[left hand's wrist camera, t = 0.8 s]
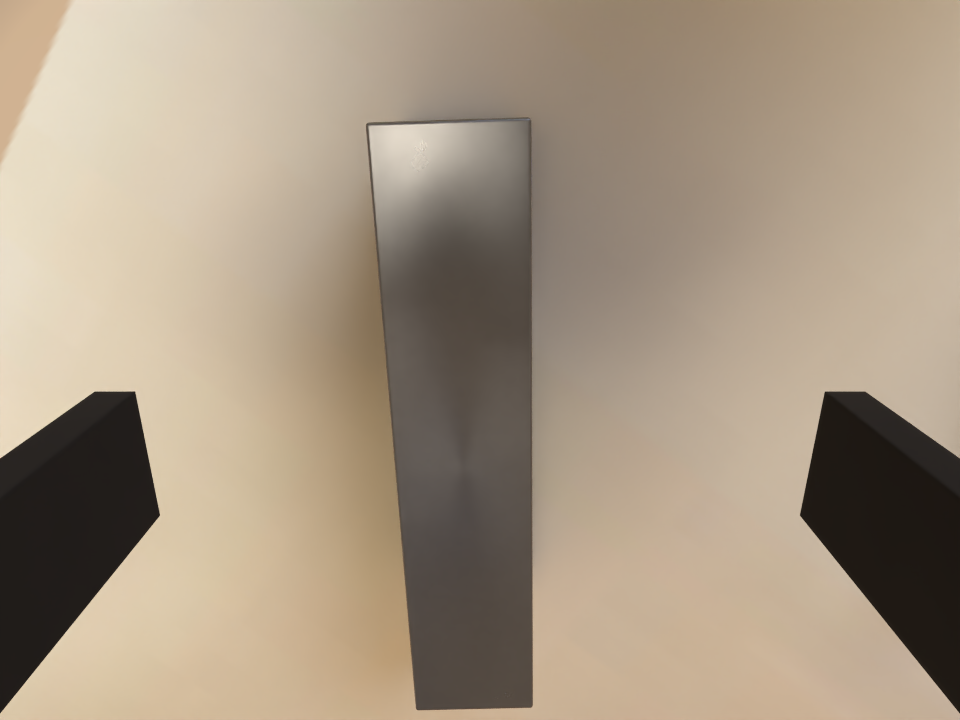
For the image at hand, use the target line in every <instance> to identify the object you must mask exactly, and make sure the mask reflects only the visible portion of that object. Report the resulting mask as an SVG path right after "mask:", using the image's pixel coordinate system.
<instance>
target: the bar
mask: <svg viewBox="0 0 960 720" xmlns="http://www.w3.org/2000/svg"><path fill="white" fill-rule="evenodd" d="M366 132H367V144H368V156H369V167H370V179H371V191H372V202H373V214H374V226H375V237H376V249H377V261H378V272H379V284H380V295H381V307H382V319H383V330H384V342H385V354H386V365H387V377H388V389H389V400H390V412H391V423H392V435H393V447H394V458H395V470H396V482H397V493H398V505H399V517H400V528H401V540H402V552H403V563H404V575H405V586H406V598H407V610H408V621H409V633H410V645H411V656H412V668H413V680H414V691H415V703H416V709H417V710H447V709H491V708H531V707H532V706H533V612H532V236H531V119H530V118H498V119H467V120H436V121H405V122H374V123H367V124H366Z"/></svg>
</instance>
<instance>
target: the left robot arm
mask: <svg viewBox="0 0 960 720" xmlns="http://www.w3.org/2000/svg"><path fill="white" fill-rule="evenodd" d="M159 516H160V513H159V508H158V503H157V498H156V493H155V488H154V483H153V478H152V473H151V468H150V463H149V458H148V454H147V449H146V444H145V439H144V434H143V429H142V424H141V419H140V414H139V409H138V404H137V399H136V394H135V392H94V393H92V394H91V395H89V396H88V397H87V398H85V399H84V400H82V401H81V402H80V403H78V404H77V405H75V406H74V407H72V408H71V409H70V410H68V411H67V412H65V413H64V414H63V415H61V416H60V417H58V418H57V419H56V420H54V421H53V422H51V423H50V424H48V425H47V426H46V427H44V428H43V429H41V430H40V431H39V432H37V433H36V434H34V435H33V436H31V437H30V438H29V439H27V440H26V441H24V442H23V443H22V444H20V445H19V446H17V447H16V448H15V449H13V450H12V451H10V452H9V453H7V454H6V455H5V456H3V457H2V458H0V713H1V712H2V710H3V709H4V708H5V707H6V705H7V704H8V703H9V702H10V701H11V699H12V698H13V697H14V696H15V694H16V693H17V692H18V691H19V689H20V688H21V687H22V686H23V684H24V683H25V682H26V681H27V679H28V678H29V677H30V676H31V675H32V673H33V672H34V671H35V670H36V668H37V667H38V666H39V665H40V663H41V662H42V661H43V660H44V658H45V657H46V656H47V655H48V653H49V652H50V651H51V650H52V649H53V647H54V646H55V645H56V644H57V642H58V641H59V640H60V639H61V637H62V636H63V635H64V634H65V632H66V631H67V630H68V629H69V627H70V626H71V625H72V624H73V623H74V621H75V620H76V619H77V618H78V616H79V615H80V614H81V613H82V611H83V610H84V609H85V608H86V606H87V605H88V604H89V603H90V601H91V600H92V599H93V598H94V597H95V595H96V594H97V593H98V592H99V590H100V589H101V588H102V587H103V585H104V584H105V583H106V582H107V580H108V579H109V578H110V577H111V575H112V574H113V573H114V572H115V571H116V569H117V568H118V567H119V566H120V564H121V563H122V562H123V561H124V559H125V558H126V557H127V556H128V554H129V553H130V552H131V551H132V549H133V548H134V547H135V546H136V545H137V543H138V542H139V541H140V540H141V538H142V537H143V536H144V535H145V533H146V532H147V531H148V530H149V528H150V527H151V526H152V525H153V523H154V522H155V521H156V520H157V519H158V517H159ZM800 516H801V517H802V519H803V520H804V521H805V522H806V523H807V525H808V526H809V527H810V528H811V530H812V531H813V532H814V533H815V535H816V536H817V537H818V538H819V540H820V541H821V542H822V543H823V545H824V546H825V547H826V548H827V549H828V551H829V552H830V553H831V554H832V556H833V557H834V558H835V559H836V561H837V562H838V563H839V564H840V566H841V567H842V568H843V569H844V571H845V572H846V573H847V574H848V575H849V577H850V578H851V579H852V580H853V582H854V583H855V584H856V585H857V587H858V588H859V589H860V590H861V592H862V593H863V594H864V595H865V597H866V598H867V599H868V600H869V601H870V603H871V604H872V605H873V606H874V608H875V609H876V610H877V611H878V613H879V614H880V615H881V616H882V618H883V619H884V620H885V621H886V623H887V624H888V625H889V626H890V627H891V629H892V630H893V631H894V632H895V634H896V635H897V636H898V637H899V639H900V640H901V641H902V642H903V644H904V645H905V646H906V647H907V649H908V650H909V651H910V652H911V653H912V655H913V656H914V657H915V658H916V660H917V661H918V662H919V663H920V665H921V666H922V667H923V668H924V670H925V671H926V672H927V673H928V675H929V676H930V677H931V678H932V679H933V681H934V682H935V683H936V684H937V686H938V687H939V688H940V689H941V691H942V692H943V693H944V694H945V696H946V697H947V698H948V699H949V701H950V702H951V703H952V704H953V705H954V707H955V708H956V709H957V710H958V712H959V713H960V458H958V457H957V456H955V455H954V454H953V453H951V452H950V451H948V450H947V449H945V448H944V447H943V446H941V445H940V444H938V443H937V442H936V441H934V440H933V439H931V438H930V437H929V436H927V435H926V434H924V433H923V432H921V431H920V430H919V429H917V428H916V427H914V426H913V425H912V424H910V423H909V422H907V421H906V420H904V419H903V418H902V417H900V416H899V415H897V414H896V413H895V412H893V411H892V410H890V409H889V408H888V407H886V406H885V405H883V404H882V403H880V402H879V401H878V400H876V399H875V398H873V397H872V396H871V395H869V394H868V393H866V392H825V394H824V399H823V404H822V409H821V414H820V419H819V424H818V429H817V434H816V439H815V444H814V449H813V453H812V458H811V463H810V468H809V473H808V478H807V483H806V488H805V493H804V498H803V503H802V508H801V513H800Z"/></svg>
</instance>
